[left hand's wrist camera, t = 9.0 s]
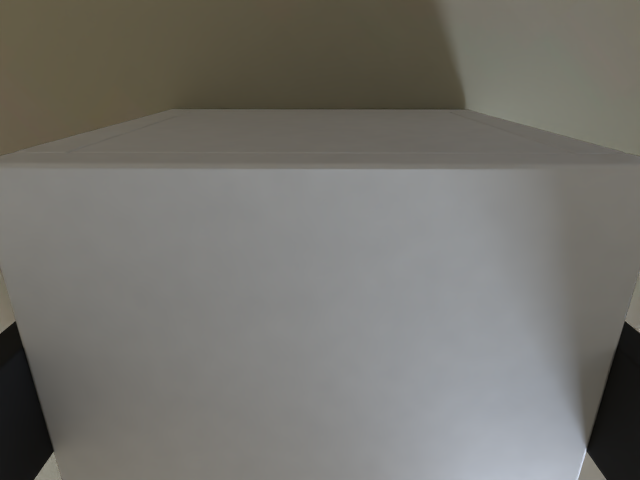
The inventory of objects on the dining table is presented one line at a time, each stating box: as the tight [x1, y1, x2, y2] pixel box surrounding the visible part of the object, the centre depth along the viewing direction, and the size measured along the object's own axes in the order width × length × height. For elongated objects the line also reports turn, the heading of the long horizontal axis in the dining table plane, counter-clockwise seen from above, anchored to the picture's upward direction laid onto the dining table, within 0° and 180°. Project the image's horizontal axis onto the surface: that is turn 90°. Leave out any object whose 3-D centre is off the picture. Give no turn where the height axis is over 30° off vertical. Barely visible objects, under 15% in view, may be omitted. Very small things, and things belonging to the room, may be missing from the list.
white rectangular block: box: [0, 109, 640, 480], centre depth 16 cm, size 21×12×10 cm, turn 0°
